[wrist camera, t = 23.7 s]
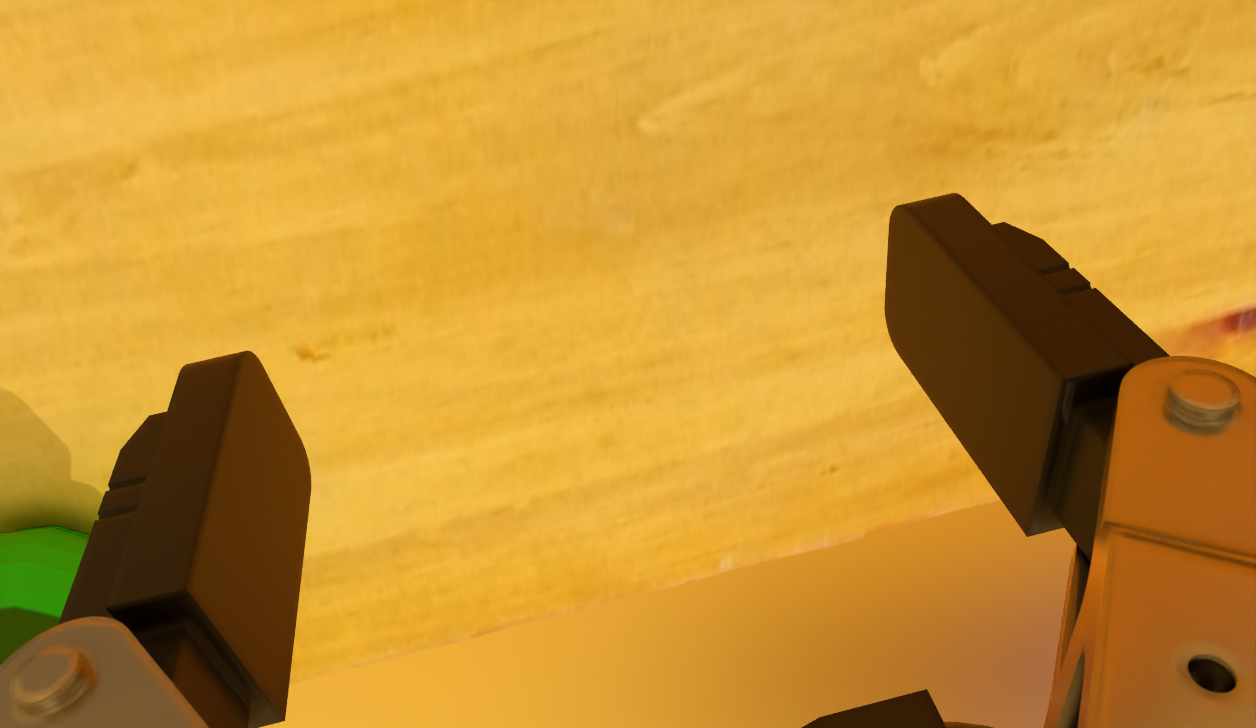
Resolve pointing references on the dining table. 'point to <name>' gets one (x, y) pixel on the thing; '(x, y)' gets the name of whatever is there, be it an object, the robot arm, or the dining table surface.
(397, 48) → the dining table surface
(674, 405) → the dining table surface
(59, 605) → the plastic bottle
